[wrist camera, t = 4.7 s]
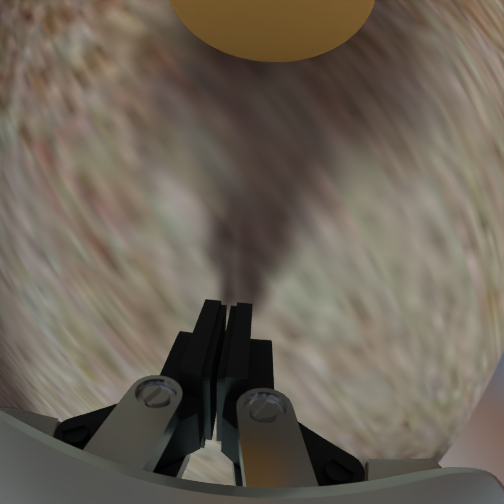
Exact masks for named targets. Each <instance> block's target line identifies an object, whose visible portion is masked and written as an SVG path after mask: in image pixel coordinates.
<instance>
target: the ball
mask: <svg viewBox="0 0 504 504" xmlns="http://www.w3.org/2000/svg"><path fill="white" fill-rule="evenodd" d="M170 2H171V5H172V7H173V9H174V11H175V13H176V14H177V16H178V17H179V19H180V20H181V21H182V23H183V24H184V25H185V26H186V27H187V28H188V29H189V30H190V31H191V32H192V33H193V34H194V35H196V36H197V37H198V38H200V39H201V40H202V41H204V42H205V43H207V44H208V45H210V46H212V47H214V48H216V49H218V50H220V51H222V52H225V53H227V54H230V55H233V56H236V57H240V58H244V59H248V60H254V61H261V62H291V61H298V60H303V59H307V58H312V57H315V56H318V55H321V54H323V53H326V52H328V51H330V50H333V49H334V48H336V47H338V46H339V45H341V44H343V43H344V42H346V41H347V40H348V39H349V38H351V37H352V36H353V35H354V34H355V33H356V32H357V31H358V30H359V29H360V28H361V27H362V25H363V24H364V23H365V21H366V20H367V19H368V17H369V15H370V13H371V11H372V9H373V6H374V3H375V0H170Z"/></svg>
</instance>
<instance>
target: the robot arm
mask: <svg viewBox="0 0 504 504" xmlns="http://www.w3.org/2000/svg"><path fill="white" fill-rule="evenodd" d="M226 311H227V305H221V301H218V300H208V299H206V300H205V302H204V305H203V307H202V310H201V313H200V315H199V318H198V320H197V323H196V326H195V328H194V331H193V333H190V332H183V331H180V332H179V334H178V335H177V338H176V340H175V342H174V344H173V347H172V349H171V351H170V353H169V355H168V358H167V360H166V362H165V364H164V367H163V369H162V371H161V374H160V375H151V376H147V377H143V378H141V379H139V380H137V381H136V382H135V383H134V384H133V385H132V386H131V387H130V389H129V390H128V391H127V392H126V394H125V395H124V396H123V398H122V399H121V400H120V402H119V403H117V404H114V405H112V406H108V407H105V408H102V409H99V410H96V411H93V412H90V413H86V414H83V415H80V416H76V417H73V418H70V419H67V420H65V421H63V422H60V421H59V420H58V418H54V417H49V416H44V415H40V414H36V413H32V412H28V411H24V410H20V409H17V408H13V407H5V408H1V409H0V504H504V485H503V484H502V483H501V481H500V480H499V479H498V478H497V477H496V476H495V475H493V474H492V473H490V472H488V471H486V470H482V469H478V468H466V467H464V468H463V467H452V468H442V467H441V466H440V465H439V464H438V463H437V462H434V461H432V460H428V459H413V460H380V459H368V461H367V462H360V461H359V460H358V459H356V458H355V457H354V456H352V455H350V454H349V453H347V452H345V451H344V450H342V449H340V448H339V447H337V446H335V445H334V444H332V443H330V442H329V441H327V440H326V439H324V438H322V437H321V436H319V435H318V434H316V433H314V432H313V431H311V430H310V429H308V428H307V427H305V426H304V425H302V424H301V423H299V422H298V421H297V418H296V415H295V412H294V409H293V406H292V403H291V402H290V400H289V398H287V397H286V396H285V395H284V394H283V393H281V392H279V391H277V390H274V376H273V355H272V341H271V340H259V339H250V337H251V321H252V304H250V303H239V302H237V306H231V309H230V314H229V319H228V324H227V328H226ZM216 412H217V441H222V443H221V451H222V452H223V453H224V454H225V455H226V456H227V457H228V458H229V459H230V460H231V461H232V470H233V480H234V486H230V485H220V484H212V483H205V482H198V481H192V480H186V479H181V478H182V476H183V473H184V471H185V469H186V467H187V464H188V462H189V459H190V454H191V453H193V452H195V451H196V450H198V449H200V447H201V448H204V445H205V440H206V439H207V440H212V436H213V430H214V424H215V418H216Z"/></svg>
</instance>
